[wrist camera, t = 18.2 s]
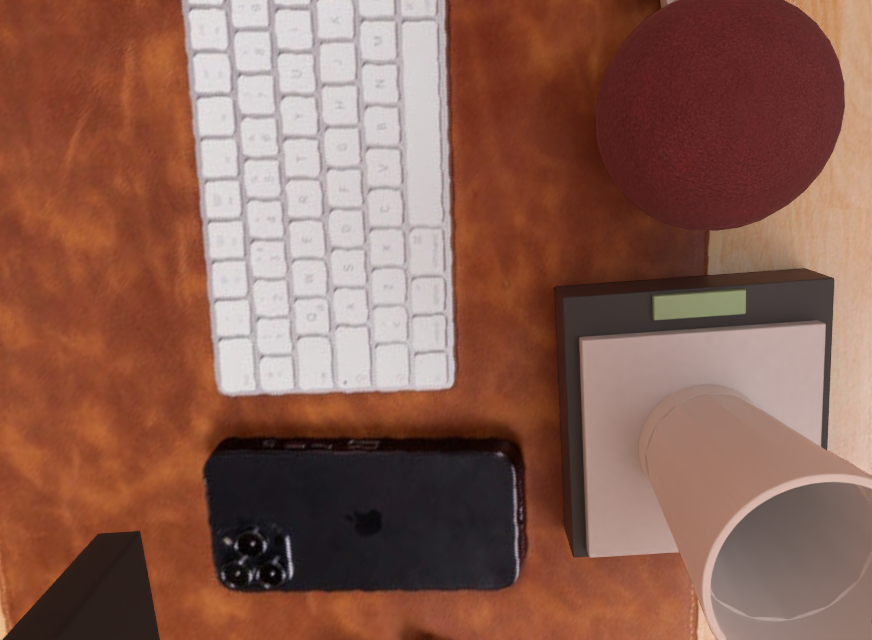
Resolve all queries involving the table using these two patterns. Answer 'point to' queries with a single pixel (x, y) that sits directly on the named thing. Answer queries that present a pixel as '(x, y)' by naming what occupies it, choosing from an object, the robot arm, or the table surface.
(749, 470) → the cup
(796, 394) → the scale
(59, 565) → the table surface
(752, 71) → the decorative ball
